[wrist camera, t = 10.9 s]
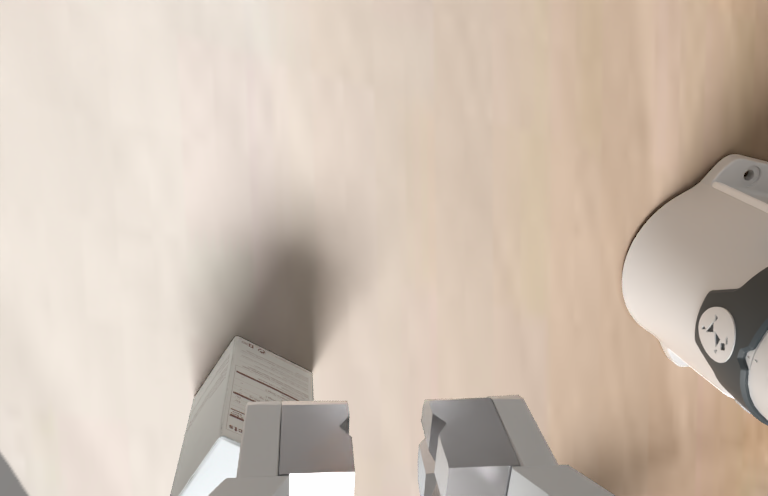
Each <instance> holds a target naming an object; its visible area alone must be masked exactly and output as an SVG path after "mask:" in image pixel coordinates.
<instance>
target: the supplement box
mask: <svg viewBox="0 0 768 496" xmlns="http://www.w3.org/2000/svg"><path fill="white" fill-rule="evenodd" d="M261 401H280V402H281V403H282V401H314V398H313V375H312V372H309V371H308V370H306V369H304V368H302V367H300V366H298V365H296V364H294V363H292V362H290V361H288V360H286V359H284V358H282V357H280V356H278V355H276V354H274V353H272V352H270V351H268V350H266V349H264V348H262V347H260V346H258V345H256V344H254V343H252V342H249V341H247V340H245V339H243V338H241V337H239V336H235V337H234V339H233V340H232V342H231V343H230V345H229V346H228V347H227V349H226V350H225V352H224V353H223V355H222V356H221V358H220V359H219V361H218V362H217V364H216V365H215V367H214V368H213V370H212V371H211V373H210V375H209V376H208V378H207V379H206V381H205V382H204V384H203V385H202V387H201V388H200V390H199V391H198V393H197V394H196V396H195V397H194V399H193V404H192V408H191V412H190V416H189V420H188V424H187V428H186V432H185V437H184V441H183V445H182V449H181V453H180V457H179V461H178V465H177V469H176V474H175V478H174V482H173V486H172V490H171V494H170V496H208V495H209V494H210V493H211V492H212V491H213V490H214V489H215V488H216V487H217V486H218V485H219V484H220V483H221V482H222V481H223V480H224V479H226V478H236V476H237V468H238V460H239V453H240V445H241V438H242V430H243V423H244V415H245V407H246V405H247V403H248V402H261Z"/></svg>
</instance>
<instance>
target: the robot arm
mask: <svg viewBox="0 0 768 496" xmlns="http://www.w3.org/2000/svg"><path fill="white" fill-rule="evenodd" d="M746 171H748V174H747V176H746V177H744V174H745V172H746ZM622 291H623V296H624V300H625V304H626V306H627V308H628V310H629V312H630V314H631V315H632V317H633V318H634V320H635V321H636V322H637V323H638V324H639V325H640V326H641V327H642V328H644V329H645V330H647V331H648V332H649V333H651V334H652V335H654V336H655V337H656V338H657V339H658V340H659V341H660V344H661V346H662V348H663V350H664V352H665V354H666V356H667V357H668V358H669V359H670V360H671V361H672V362H673V363H675V364H676V365H677V366H680V367H687V366H690V367H691V368H692V369H694V370H695V371H696V372H697V373H699V374H700V375H701V376H702V377H704V378H705V379H706V380H707V381H709V382H710V383H711V384H712V385H714V386H715V387H716V388H717V389H719V390H720V391H721V392H723V393H724V394H725V395H727V396H728V397H731V398H734V399H735V401H736V402H737V403H738V404H739V405H740V406H741V407H742V408H743V409H744V410H746V411H747V412H748V413H750V414H752V415H753V416H754V417H756V418H757V419H758V420H759V421H761V422H762V423H764V424H766V425H768V162H767V161H763V160H759V159H755V158H751V157H747V156H743V155H739V154H731V155H728V156H726V157H724V158H723V159H721V160H720V161H719V162H718V163H717V164H716V165H715V166H714V167H713V168H712V169H711V170H710V171H709V172H708V174H707V175H706V176H705V177H704V178H703V179H702V180H701V182H699V183H698V184H697V185H695V186H694V187H692V188H691V189H689V190H687V191H686V192H684V193H682V194H680V195H679V196H677V197H675V198H674V199H672V200H670V201H669V202H668V203H666V204H665V205H664V206H662V207H661V208H660V209H659V210H658V211H657V212H656V213H654V214H653V215H652V216H651V218H650V219H649V220H648V221H647V222H646V223H645V224H644V226H643V227H642V228H641V230H640V231H639V233H638V234H637V236H636V237H635V239H634V241H633V242H632V245H631V247H630V249H629V251H628V254H627V256H626V260H625V263H624V268H623V274H622ZM421 422H422V426H423V430H424V434H425V439H424V440H423V441H422V442H421V443H420V444H419V452H418V483H419V490H420V496H615V495H614V494H612V493H610V492H609V491H607V490H606V489H604V488H603V487H601V486H600V485H598V484H597V483H595V482H594V481H592V480H590V479H589V478H587V477H586V476H584V475H583V474H581V473H580V472H578V471H577V470H575V469H573V468H572V467H570V466H569V465H558V463H557V461H556V459H555V457H554V456H553V454H552V452H551V450H550V448H549V446H548V444H547V442H546V440H545V439H544V437H543V435H542V433H541V431H540V429H539V427H538V425H537V423H536V422H535V420H534V418H533V416H532V414H531V412H530V410H529V408H528V406H527V405H526V403H525V401H524V399H523V398H522V397H521V396H519V395H507V396H489V397H487V398H460V399H427V400H425V401H424V405H423V410H422V419H421ZM354 480H355V468H354V457H353V446H352V437H351V436H350V435H349V408H348V402H347V401H282V403H281V402H280V401H261V402H248V403H247V405H246V407H245V415H244V423H243V430H242V438H241V445H240V453H239V460H238V468H237V476H236V478H226V479H224V480H223V481H222V482H221V483H220V484H219V485H218V486H217V487H216V488H215V489H214V490H213V491H212V492H211V493H210V494H209V495H208V496H354Z"/></svg>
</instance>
